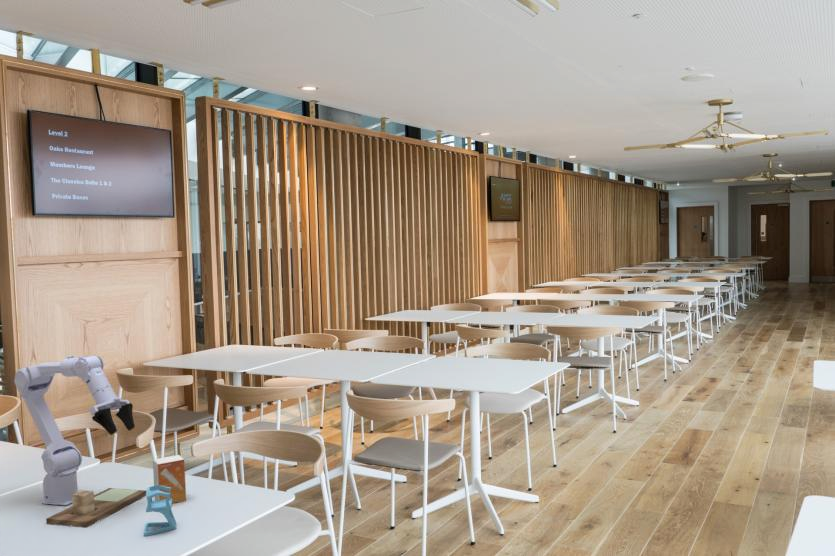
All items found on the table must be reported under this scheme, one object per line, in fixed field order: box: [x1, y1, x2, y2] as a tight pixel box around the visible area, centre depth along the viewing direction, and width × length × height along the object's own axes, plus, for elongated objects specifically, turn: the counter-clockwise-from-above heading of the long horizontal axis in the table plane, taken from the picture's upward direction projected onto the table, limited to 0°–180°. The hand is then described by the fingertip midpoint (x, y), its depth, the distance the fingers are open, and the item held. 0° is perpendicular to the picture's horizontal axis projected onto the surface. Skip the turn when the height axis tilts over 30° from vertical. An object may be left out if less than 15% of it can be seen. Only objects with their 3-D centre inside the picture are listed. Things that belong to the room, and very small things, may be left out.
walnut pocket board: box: [45, 487, 146, 528], centre depth 216 cm, size 14×26×2 cm, turn 164°
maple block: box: [72, 489, 95, 515], centre depth 210 cm, size 4×4×7 cm
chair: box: [143, 485, 177, 537], centre depth 198 cm, size 8×8×12 cm
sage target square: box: [94, 488, 140, 503], centre depth 223 cm, size 10×10×1 cm
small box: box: [152, 454, 187, 504], centre depth 220 cm, size 8×6×13 cm
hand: (123, 430), depth 212 cm, fingers open, 7 cm apart
